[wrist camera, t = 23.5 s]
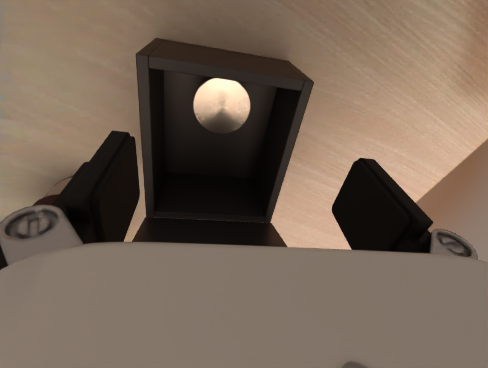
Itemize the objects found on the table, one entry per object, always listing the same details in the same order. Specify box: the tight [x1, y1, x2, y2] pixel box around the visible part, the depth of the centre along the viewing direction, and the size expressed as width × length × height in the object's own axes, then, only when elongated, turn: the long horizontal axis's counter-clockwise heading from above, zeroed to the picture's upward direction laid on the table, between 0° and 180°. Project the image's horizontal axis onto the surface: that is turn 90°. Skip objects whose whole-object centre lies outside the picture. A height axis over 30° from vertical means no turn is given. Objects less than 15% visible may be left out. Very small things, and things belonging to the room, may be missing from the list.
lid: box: [132, 217, 287, 247], centre depth 19 cm, size 15×13×5 cm
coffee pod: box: [193, 77, 250, 133], centre depth 24 cm, size 5×5×4 cm
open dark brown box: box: [136, 38, 314, 223], centre depth 25 cm, size 15×13×8 cm
